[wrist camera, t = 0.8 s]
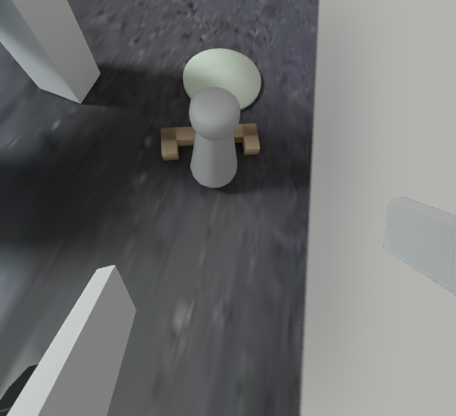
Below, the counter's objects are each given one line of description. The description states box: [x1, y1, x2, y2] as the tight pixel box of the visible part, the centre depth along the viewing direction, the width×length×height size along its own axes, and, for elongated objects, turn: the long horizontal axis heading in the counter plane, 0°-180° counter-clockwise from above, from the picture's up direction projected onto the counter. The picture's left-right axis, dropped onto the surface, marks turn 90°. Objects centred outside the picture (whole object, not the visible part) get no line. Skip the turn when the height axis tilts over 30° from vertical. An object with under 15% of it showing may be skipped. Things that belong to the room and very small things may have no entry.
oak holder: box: [161, 123, 260, 160], centre depth 30 cm, size 4×13×2 cm, turn 97°
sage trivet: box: [183, 49, 261, 111], centre depth 34 cm, size 12×12×1 cm
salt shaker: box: [189, 87, 240, 188], centre depth 24 cm, size 6×6×13 cm
